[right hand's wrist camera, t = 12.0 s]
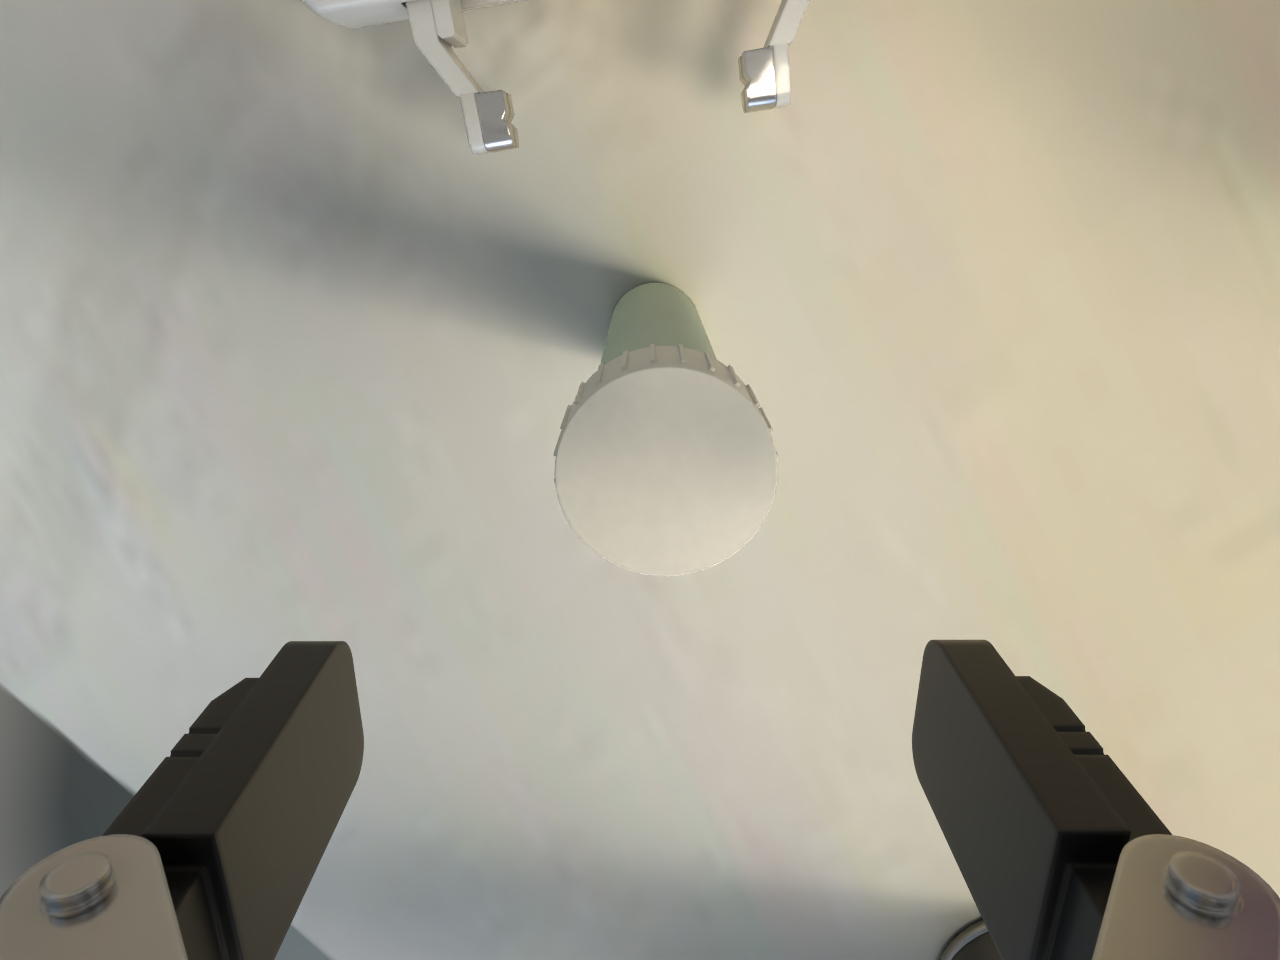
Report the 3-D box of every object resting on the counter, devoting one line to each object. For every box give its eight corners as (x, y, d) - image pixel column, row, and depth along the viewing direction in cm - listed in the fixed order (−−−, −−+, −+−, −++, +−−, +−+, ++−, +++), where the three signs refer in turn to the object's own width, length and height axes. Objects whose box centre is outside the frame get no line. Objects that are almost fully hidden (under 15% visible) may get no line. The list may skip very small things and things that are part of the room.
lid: (660, 573, 22) (662, 619, 20) (519, 442, 21) (504, 474, 18) (808, 446, 21) (828, 479, 18) (667, 297, 19) (670, 313, 17)
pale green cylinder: (654, 390, 38) (663, 580, 20) (591, 327, 37) (542, 468, 19) (718, 329, 37) (789, 471, 19) (656, 262, 36) (668, 346, 18)
